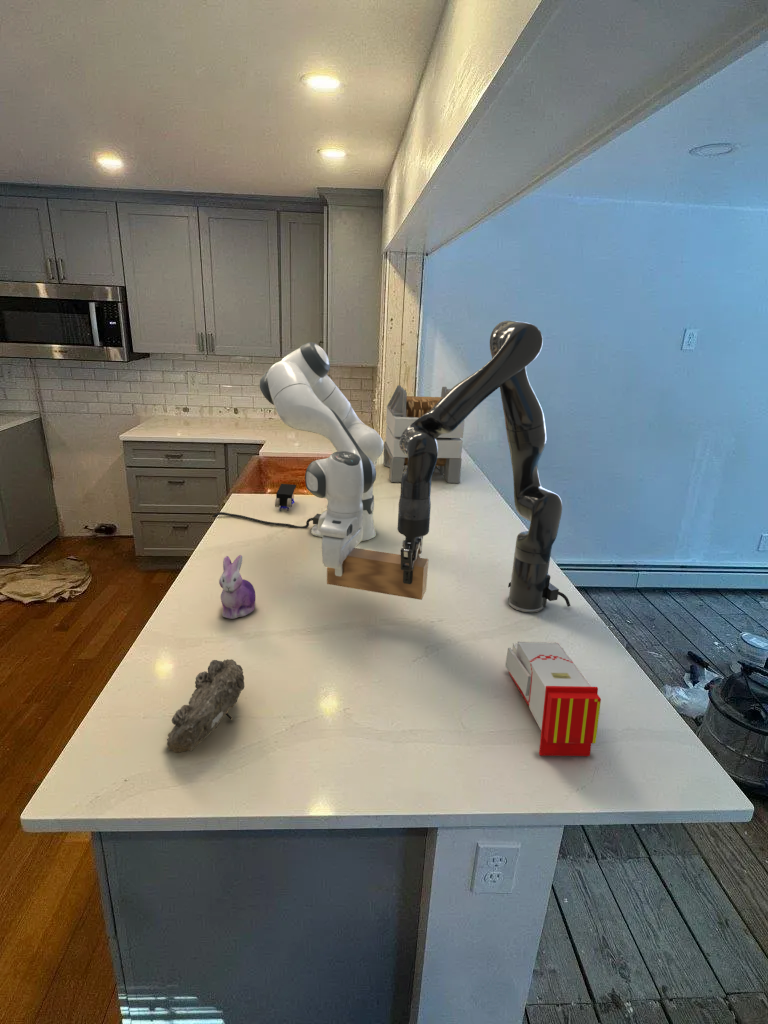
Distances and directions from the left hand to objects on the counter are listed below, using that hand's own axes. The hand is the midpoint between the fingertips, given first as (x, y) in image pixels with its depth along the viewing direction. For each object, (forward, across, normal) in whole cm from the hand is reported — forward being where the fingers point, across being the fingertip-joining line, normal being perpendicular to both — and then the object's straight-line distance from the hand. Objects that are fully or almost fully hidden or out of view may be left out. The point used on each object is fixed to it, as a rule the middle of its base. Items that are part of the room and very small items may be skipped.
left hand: (343, 569), depth 144 cm
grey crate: (+12, -137, -10) cm, 138 cm away
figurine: (+12, +9, -25) cm, 29 cm away
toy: (+12, +22, +51) cm, 57 cm away
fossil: (+12, +46, -10) cm, 49 cm away
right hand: (-1, 0, +17) cm, 17 cm away
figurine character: (+12, -68, -48) cm, 84 cm away
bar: (+3, 0, +9) cm, 9 cm away
